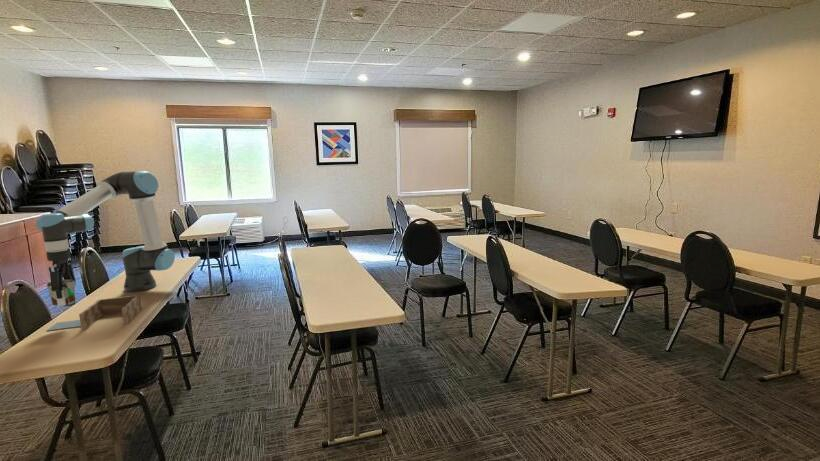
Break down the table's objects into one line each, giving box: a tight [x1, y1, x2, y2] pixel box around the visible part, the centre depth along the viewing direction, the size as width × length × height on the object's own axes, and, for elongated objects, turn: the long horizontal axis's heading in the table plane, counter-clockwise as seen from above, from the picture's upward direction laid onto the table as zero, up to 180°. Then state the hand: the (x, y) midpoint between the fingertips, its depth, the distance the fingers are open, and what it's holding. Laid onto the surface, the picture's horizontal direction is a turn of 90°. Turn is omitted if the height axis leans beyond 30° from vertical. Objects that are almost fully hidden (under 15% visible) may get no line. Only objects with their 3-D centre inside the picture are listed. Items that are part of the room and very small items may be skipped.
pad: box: [45, 319, 81, 332], centre depth 178 cm, size 9×14×1 cm, turn 108°
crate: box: [78, 294, 142, 331], centre depth 182 cm, size 20×16×7 cm
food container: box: [46, 279, 77, 307], centre depth 176 cm, size 12×6×10 cm, turn 75°
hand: (67, 302), depth 176 cm, fingers closed on food container, 8 cm apart
